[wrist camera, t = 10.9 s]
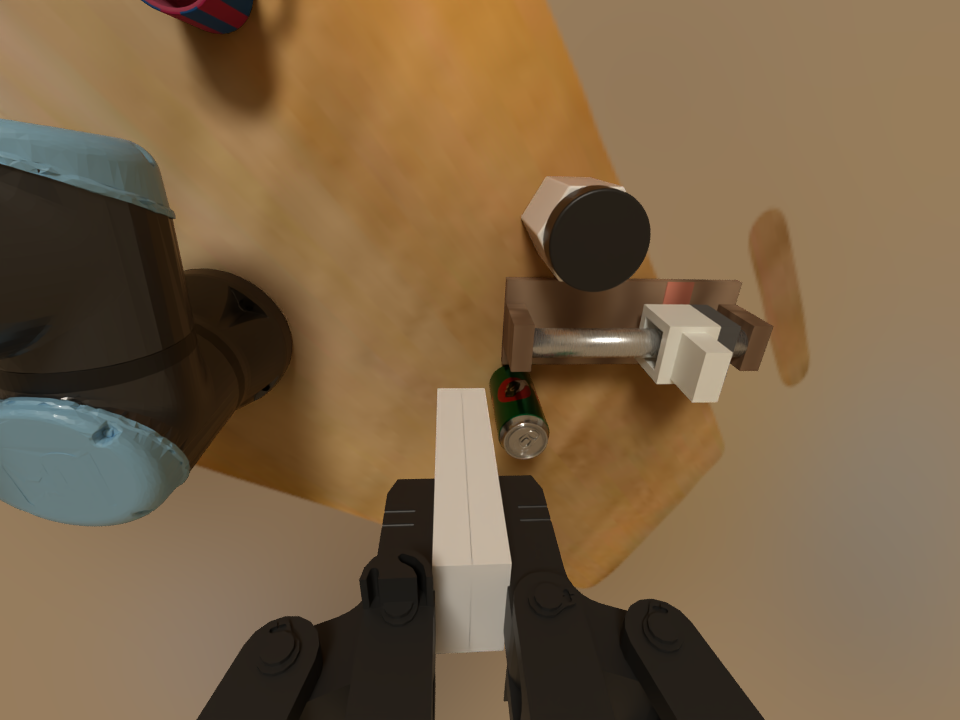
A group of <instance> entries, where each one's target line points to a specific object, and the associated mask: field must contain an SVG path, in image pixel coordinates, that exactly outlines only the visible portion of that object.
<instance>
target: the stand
mask: <svg viewBox="0 0 960 720" xmlns="http://www.w3.org/2000/svg"><path fill="white" fill-rule="evenodd" d="M741 285H742V283H741V282H740V281H738V280H689V279H688V280H686V279H683V280H682V279H627V280H626V281H625V282H623V283H622V284H620V285H618V286H616V287H614V288H612V289H609V290H606V291H601V292H585V291H581V290H577V289H575V288H573V287H571V286H569V285H567V284H566V283H565V282H561V281H558V279H557V278H526V277H506V290H505V306H504V323H503V340H502V356H501V361H502V364H509V367H510V370H511V372H531V364H639V363H638V362H637V361H636V359H635V358H532V353H533V342H534V331H535V328H639V326H640V321H641V317H642V312H643V307H644V304H683V305H709V306H710V307H712V308H713V309H715V310H716V311H718V312H719V313H721V314H722V315H724V316H726V317H727V318H729V319H730V320H732V321H733V322H735V323H736V324H738V325H739V326H741V329H742V330H743V331H744V332H745V333H746V335H747V339H748V346H747V350H746V352H745V354H744V355H743V356H741V357H732V358H731V361H730V364H732V365H733V366H734V367H736V368H737V369H738V370H739V371H758V369H759V366H760V363H761V361H762V357H763V355H764V352H765V349H766V346H767V344H768V341H769V338H770V335H771V332H772V329H773V326H772V325H770V324H768V323H767V322H765V321H763V320H762V319H760V318H758V317H756V316H755V315H753V314H751V313H750V312H748V311H746V310H744V309H743V308H741V307H739V306H738V305H736V302H737V298H738V295H739V292H740V289H741Z"/></svg>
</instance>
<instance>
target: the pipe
mask: <svg viewBox="0 0 960 720" xmlns="http://www.w3.org/2000/svg"><path fill="white" fill-rule="evenodd" d="M662 336H663V331H661V330H660V329H659V328H535V331H534V342H533V353H532V358H653V357H658V353H659V349H660V344H661V340H662ZM747 346H748V339H747V335H746V333H745V332H744V331H743V330H742V329H741V330H740V333H739V336H738V339H737V342H736V346H735V349H734V352H733V355H732V357H741V356H743V355H744V354H745V352H746V350H747Z"/></svg>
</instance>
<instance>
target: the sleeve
mask: <svg viewBox="0 0 960 720" xmlns="http://www.w3.org/2000/svg"><path fill="white" fill-rule="evenodd" d="M639 328H659V329H660V330H661V331H663V336H662V340H661V344H660V349H659V353H658V357H653V358H635V359H636V361H637V362H638V363H639V364H640V365H641V366H642V368H643V369H644V370H645V371H646V372H647V374H648V375H649V376H650V377H651V378H652V379H653V381H654V382H655V383H656V384H676V386H677V387H678V388H679V389H680V390H681V391H682V392H683V393H684V394H685V395H686V396H687V397H688V399H689V400H690V401H691V402H717V401H718V398H719V395H720V392H721V389H722V386H723V383H724V380H725V376H726V373H727V370H728V367H729V364H730V361H731V358H732V354H733V352H731V351H730V350H729V349H727V348H726V347H725V346H723V345H722V344H721V343H720V342H718V341H717V340H718V336H719V333H720V329H721V326H719V325H718V324H717V323H715V322H714V321H712V320H711V319H709V318H708V317H707V316H705V315H704V314H702V313H701V312H699V311H698V310H697V309H695V308H694V307H692V306H691V305H683V304H644V307H643V312H642V317H641V321H640V326H639Z"/></svg>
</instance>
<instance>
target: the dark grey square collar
mask: <svg viewBox="0 0 960 720" xmlns="http://www.w3.org/2000/svg"><path fill="white" fill-rule="evenodd" d="M691 306H692V307H694V308H695V309H697V310H698V311H699V312H701V313H702V314H704V315H705V316H707V317H708V318H709V319H711V320H712V321H714V322H715V323H717V324H718V325H719V326H721V329H720V333H719V336H718V340H717V341H718V342H720V343H721V344H722V345H723V346H725V347H726V348H727V349H729V350H730V351H731V352H734V349H735V346H736V342H737V339H738V336H739V333H740V330H741V326H739V325H738V324H736V323H735V322H733V321H732V320H730V319H729V318H727V317H726V316H724V315H722V314H721V313H719V312H718V311H716V310H715V309H713V308H712V307H710V306H709V305H691ZM732 355H733V354H732ZM728 368H729V367H728ZM727 371H728V370H727ZM726 374H727V373H726ZM725 377H726V376H725Z"/></svg>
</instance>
